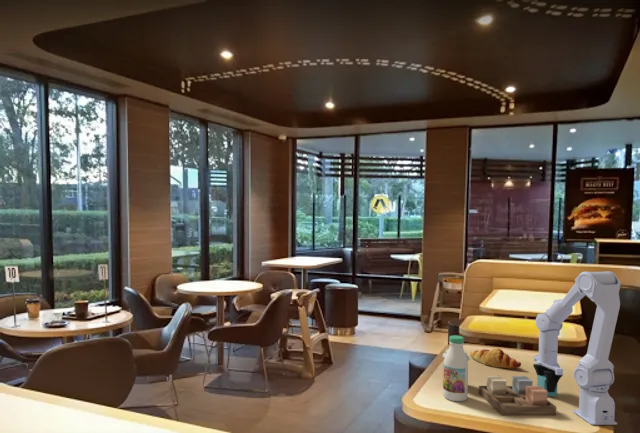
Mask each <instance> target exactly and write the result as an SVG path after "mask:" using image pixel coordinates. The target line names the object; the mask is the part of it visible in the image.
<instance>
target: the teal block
mask: <svg viewBox="0 0 640 433" xmlns="http://www.w3.org/2000/svg"><path fill="white" fill-rule="evenodd" d="M536 376H537V379H536V386H541V387H542V388H543V389H545V390H546V391H547V397H558V385H557V386H556V389H555V392H548V390H547V382H546V377H545V375H537V374H536Z"/></svg>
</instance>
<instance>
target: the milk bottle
mask: <svg viewBox="0 0 640 433" xmlns="http://www.w3.org/2000/svg"><path fill="white" fill-rule="evenodd" d="M448 338H449V339H448V340H449V343H448V344H449V348H448V349H449V350H448V352H447V354H446V356H445V359H444V360H443V375H442V377H443V379H442V396H443V397H444V398H445V399H447V400H448V401H452V402H465V401H467V399H468V393H469V392H468V390H469V389H468V387H469V386H468V384H469V364H468V363H469V361H467V357H466V355H465V352H464V351H465V350H464V344H465V339H464V337H463V336H461V335H455V334H454V335H449V337H448Z"/></svg>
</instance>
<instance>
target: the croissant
mask: <svg viewBox="0 0 640 433" xmlns="http://www.w3.org/2000/svg"><path fill="white" fill-rule="evenodd" d="M469 357H471V358H472V359H473V360H475V361H476V362H479V363H480V364H482V365H486V366H489V367H494V368H503V369H507V370H509V369H510V370H511V369H512V370H514V369H517V368H521V366H522V362H521V361H517V360H516V359H515V358H514V357H511V356H510V355H509V354H508V353H506V352H504V350H502V349H500V348H492V349H481V350H478V349H477V350H474V351H470V352H469Z"/></svg>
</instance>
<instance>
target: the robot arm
mask: <svg viewBox="0 0 640 433" xmlns="http://www.w3.org/2000/svg"><path fill="white" fill-rule="evenodd" d="M574 279H575V280H574V282H575V283H574V284H573V285H572V286H571V288H570V289H569V291H568V292H567V293H566V294H565V295H564V297H563V298H562V299H561V298H560V299H555V300H553V304H551V306H550V307H549V308H548V309H546V310H545V312H542V313H538V314H537V316H536V318H535V326H536V328H537V329H538V331H539V332H538V336H539V337H538V355H533V361H534V363H533V364H532V367H533V369H534V371H535V373H536V376H537V375H545V377H546V382H547V390H548V392H555V389H556V386H557V387H558V383H559V381H560V379H561V378H562V377H563V375H564V369H563V368H562V367H561V366H560V365H559V362H558V351H559V350H558V344H559V343H558V342H559V336H560V331H561V330H562V329H563V325H564V323H563V322H564V321H565V320H566V319H567V318H568V317H569V316H571V315H572V313H573V312H574V311H573V310H574V309H573V307H574V306H575V305H577V303H579V301H581V300H582V299H583V298H584V297H587V298H588V299H590V301H591V302H594V304H595V305H596V309H595V313H594V319H593V323H592V327H591V328H592V329H591V333H590V337H589V342H588V347H587V352H586V354H585V355H583V357H582V358H580V359H579V360H578V364H577V366H576V367H575V368H574V370H573V379H574V380H575V383H576V384H577V386H578V387H579V393H578V394H579V395H578V396H579V397H578V409H572V412H573V413H574V414H576V415H577V416H579V417H580V418H582V420H584V421H586V423H589V424H590V425H592V426H603V425H604V426H606V425H607V426H612V425H613V426H615V425H618V422H617V421H615V418H616V417H615V415H616V414H615V413H616V412H615V411H616V403H615V401H614V399H613V397H611V396H610V394H609V391H608V390H610V386H611V385H612V384H614V381H615V374H614V368H615V366H614V364H613V363H612V362H611V361H610V360H609V357H610V352H611V348H612V344H613V339H614V334H615V329H616V324H617V321H618V316H619V311H620V307H621V300H620V299H621V298H620V289H621V284H622V282H621V280H620V279H619V278H618V276H617V275H616V273H614V272H612V271H611V270H609V271H608V270H606V271H582V272H581V273H579V275H578V276H577V277H576V278H574Z"/></svg>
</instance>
